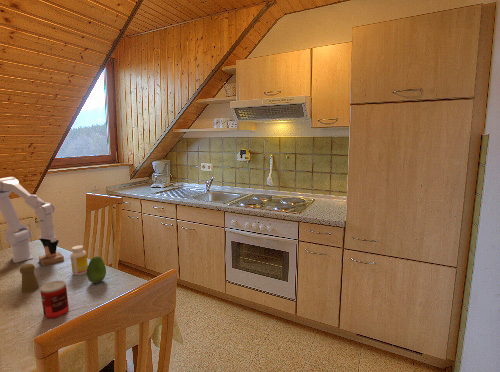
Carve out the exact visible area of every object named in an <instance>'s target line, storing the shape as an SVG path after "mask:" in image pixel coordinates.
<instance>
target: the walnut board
mask: <svg viewBox="0 0 500 372" xmlns="http://www.w3.org/2000/svg"><path fill="white" fill-rule="evenodd" d="M38 261H39V262H40V264H41V265H42V266H43V267H46V266H50V265H53V264H56V263H60V262H64V261H65V258H64V255H63V254H62V253H61V252H60V251H56V256H55V257H52V258H46V255H45V254H43V255H40V256H38Z"/></svg>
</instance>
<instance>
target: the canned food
mask: <svg viewBox="0 0 500 372" xmlns="http://www.w3.org/2000/svg"><path fill="white" fill-rule="evenodd" d="M39 289H40V290H39V291H40V297H41V304H42V310H43V315H44V317H45V318H46V319H58V318H60V317H61V316H64V315H66V313H68V312H69V308H70V306H69V300H68V291H67V283H66V281H64V280H53V281H50V282H47V283H44V285H43V284H42V286H41V287H39Z"/></svg>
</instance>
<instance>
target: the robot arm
mask: <svg viewBox="0 0 500 372" xmlns="http://www.w3.org/2000/svg"><path fill="white" fill-rule="evenodd" d="M11 193H14V194H16V195H17V196H19V197H20V198H22V199H23V200H24V203H25V204H26V205H27V206H28V207H30V208H32V209H33V210H34V214H35V215H36V217H37V219H38V221H39V227H40V228H39V229H40V234H41V235H40V236H38V240H39V241H40V242H41V244H42V246H43V250H45V248H44V247H45V246H48V248H49V251H50V254H51V255H52V254H55V253H56V252H57V247H58V244H59V243H60V242H59V239H57V238H56V232H55V225H54V218H53V213H54V212H55V207H54V206H55V205H53V204H52V203H51V202H47V201H45V200H43V199H41V198H40V197H39V196H38V195H37V194H31V193H30V192H29V191H27V189H25V187H23V186H22V185H21V184H20V182H19V179H17V178H16V177H14V176H7V177H5V176H4V177H1V178H0V212H1V215H2V216H3V219H4V221H5V223H6V224H5V225H7V229H6V230H5V232H4V235H5V241H6V243H7V244H8V245H9V246H11V249H12V250H11V251H12V256H11V257H10V258H11V260H12V262H13V263H15V264H17V263H20V262H23V261H28V260H31V259H34V256H33V255H32V254H31V250H30V248H31V247H30V243H29V242H30V241H31V240H30V239H31V238H32V236H33V235H32V232H31V230H30V229H29V228H28V226H27V225H25V224H23V223H21V220H20V218H19V216H18V214H17V212H16V209H15V207H14V205H13V203H12V201H11V199H10V197H9V196H10V194H11Z"/></svg>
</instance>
